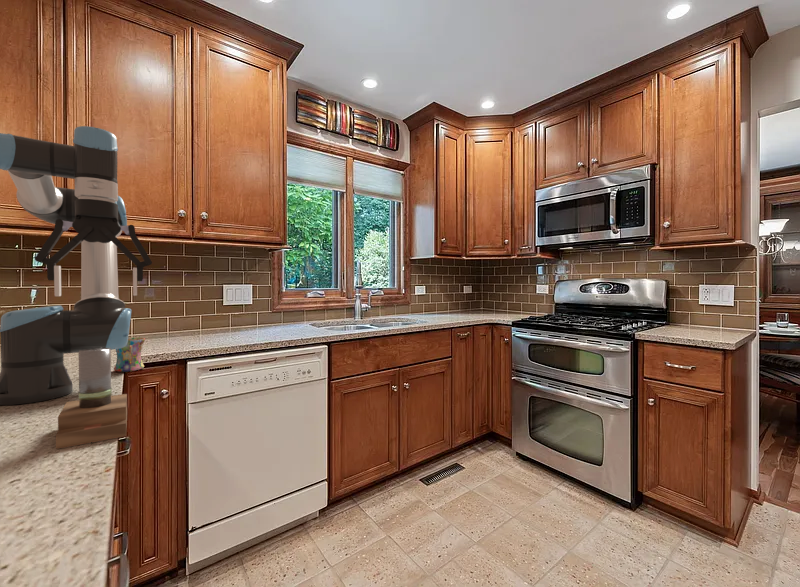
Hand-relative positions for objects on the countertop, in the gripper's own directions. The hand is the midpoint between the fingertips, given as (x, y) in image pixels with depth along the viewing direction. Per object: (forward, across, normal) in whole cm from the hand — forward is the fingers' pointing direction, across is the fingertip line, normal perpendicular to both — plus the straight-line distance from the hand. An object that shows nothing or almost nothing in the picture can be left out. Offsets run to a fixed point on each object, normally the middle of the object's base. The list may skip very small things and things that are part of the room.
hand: (98, 295), depth 85 cm
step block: (+26, 0, -13) cm, 29 cm away
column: (+21, 0, -13) cm, 25 cm away
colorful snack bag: (+29, +5, +47) cm, 55 cm away
